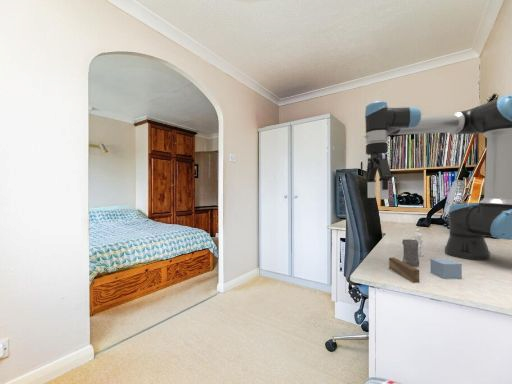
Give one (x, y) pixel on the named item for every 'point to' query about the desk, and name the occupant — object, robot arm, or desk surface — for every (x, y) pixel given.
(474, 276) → the desk surface
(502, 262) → the desk surface
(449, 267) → the block
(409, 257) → the stone
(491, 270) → the desk surface
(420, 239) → the action figure
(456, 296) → the desk surface
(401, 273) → the board
